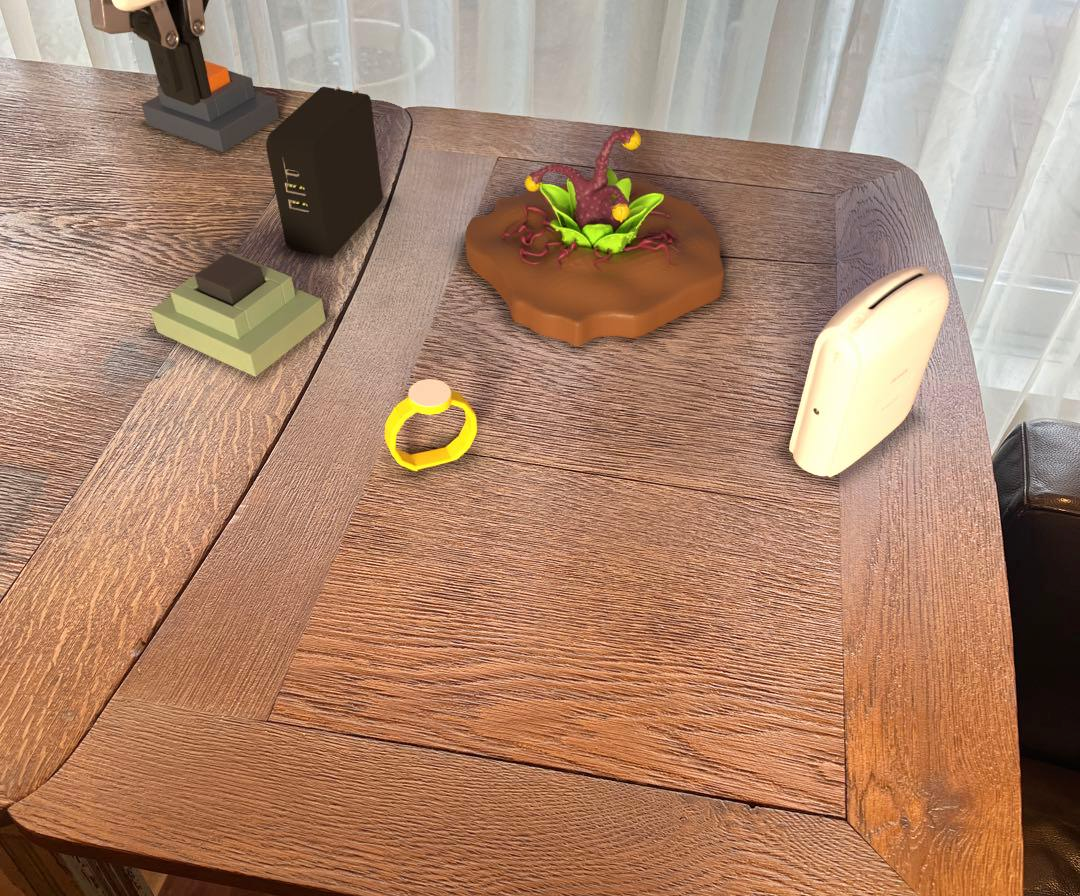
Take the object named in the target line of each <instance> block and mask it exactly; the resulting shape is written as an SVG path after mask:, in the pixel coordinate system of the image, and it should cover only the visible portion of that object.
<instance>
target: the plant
mask: <svg viewBox="0 0 1080 896" xmlns="http://www.w3.org/2000/svg"><path fill="white" fill-rule="evenodd" d="M617 141H620V142H621V145H622V146H623V148H625V149H627V150H628V151H634V150H637V149H638V148H639V146H641V144H642V137H641V134H640V132H638V131H637V130H636V129H634V128H631V127H629V128H627V127H625V128H620V129H618V130H617V131H616V130H615V131H612V132H611V135H610V136H609V137H608V138H607V140H605V141H604V142H603V145H602V146H603V147H602V149H601V150H600V151H599V154H598V157H597V158H596V160H595V167H594V172H593V177H584V176H583V175H581V173H580V172H578V169H574V168H573V166H568V165H566V164H559V163H556V164H554V163H551V164H549V165H545V166H544V167H541V168H539V170H535V171H533V172H531V173H529V174H528V175H527V176H526V178H525V180H524V186H525V189H526V191H525V193H523V194H520V195H515V196H508V197H507V196H506V197H501V198H499V199H497V201H496V202H495V206H494V209H493V211H492V212H490V213H488V214H486V215H480V216H474V217H472V218H470V221H469V222H468V225H467V226H466V229H465V234H464V241H465V242H464V243H465V256H466V261H467V264H468V265H469V267H470V268H471V269H472V271H474V272H475V273H476V274H477V275H478V276H480V277H481V278H482V280H483V279H484V281H486V282H488V283H489V284H490V285H491V286H492V287H493V289H495V291H496V292H497V293H498V295H499V296H500V297H501V299H502V300H503V301H504V303H505V304H506V306H507V307H508V308H509V312H510V317H511V319H512V320H513V321H514V322H515V323H516V324H519V325H522V326H525V327H527V328H528V329H529V330H531V331H533V332H535V333H536V334H539V335H541V336H543V337H547V338H553V339H558V340H560V341H563V342H565V343H568V344H570V345H572V346H575V347H579V346H582V345H584V344H585V343H587V342H589V341H591V340H594V339H597V338H601V337H623V338H629V339H634V338H639V337H642V336H645V335H647V334H649V333H651V332H653V331H654V330H656V329H658V328H660V327H662V326H665V325H666V324H669V323H670V322H673V321H674V320H676V319H678V318H679V317H681V316H683V315H686V314H687V313H689V312H693V311H695V310H696V309H699V308H701V307H704V306H706V305H708V304H709V303H712V302H714V301H715V300H717V299H719V298H720V297H721V295H722V291H723V285H724V280H725V279H724V278H725V269H724V267H723V262H722V258H721V249H722V242H721V239H720V236H719V234H718V232H717V230H716V229H715V227H714V226H713V225H712V224H711V223H710V222H709V220H708V219H706V218H705V216H704V215H703V214H702V213H701V212H700V211H699V210H698V208H697V207H696V206H695V205H694V204H692V203H691V202H688V201H684V200H682V199H678V198H676V197H673V196H671V195H669V194H668V193H667V192H665V191H664V190H663V189H661V188H660V187H658V186H656V185H655V184H653V183H651V182H649V181H648V180H647V179H645V178H629V177H625V178H623V177H621V178H620V177H617V174H616V173H615V171H614V170H613V169H612V168H610V167H609V166H608V165H609V163H610V159H609V158H610V155H611V152H612V149H613V146H614V144H615V143H616V142H617ZM552 172H553V173H560V174H561V175H565V177H567V180H566V183H564V184H561V185H559V186H558V185H555V184H550V183H543V177H544V175H545V174H551V173H552Z"/></svg>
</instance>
